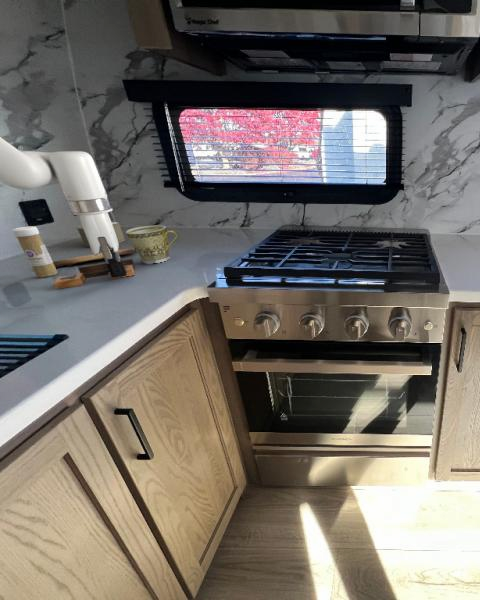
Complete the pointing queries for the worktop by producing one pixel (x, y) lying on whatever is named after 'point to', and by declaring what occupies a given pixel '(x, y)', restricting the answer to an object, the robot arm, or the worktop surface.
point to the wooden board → (87, 258)
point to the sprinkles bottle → (35, 251)
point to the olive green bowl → (116, 229)
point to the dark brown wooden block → (100, 268)
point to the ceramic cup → (151, 243)
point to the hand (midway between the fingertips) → (119, 275)
